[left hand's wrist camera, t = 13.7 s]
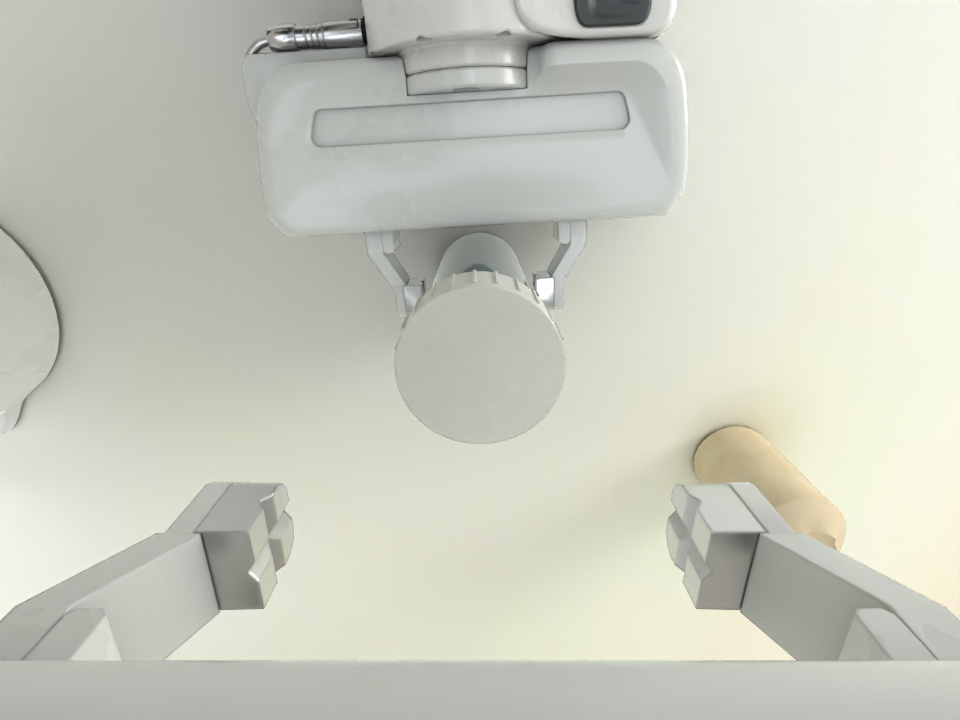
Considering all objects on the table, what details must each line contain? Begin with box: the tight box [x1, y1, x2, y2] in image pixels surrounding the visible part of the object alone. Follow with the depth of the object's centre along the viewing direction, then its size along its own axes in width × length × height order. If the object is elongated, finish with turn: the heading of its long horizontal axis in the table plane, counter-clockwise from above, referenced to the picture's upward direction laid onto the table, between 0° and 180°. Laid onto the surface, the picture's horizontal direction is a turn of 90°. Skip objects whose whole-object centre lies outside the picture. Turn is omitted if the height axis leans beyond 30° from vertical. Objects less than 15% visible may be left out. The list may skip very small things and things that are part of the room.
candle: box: [693, 426, 846, 552], centre depth 33 cm, size 6×6×10 cm
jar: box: [431, 232, 529, 288], centre depth 25 cm, size 5×5×16 cm
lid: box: [394, 270, 566, 444], centre depth 19 cm, size 6×6×2 cm
